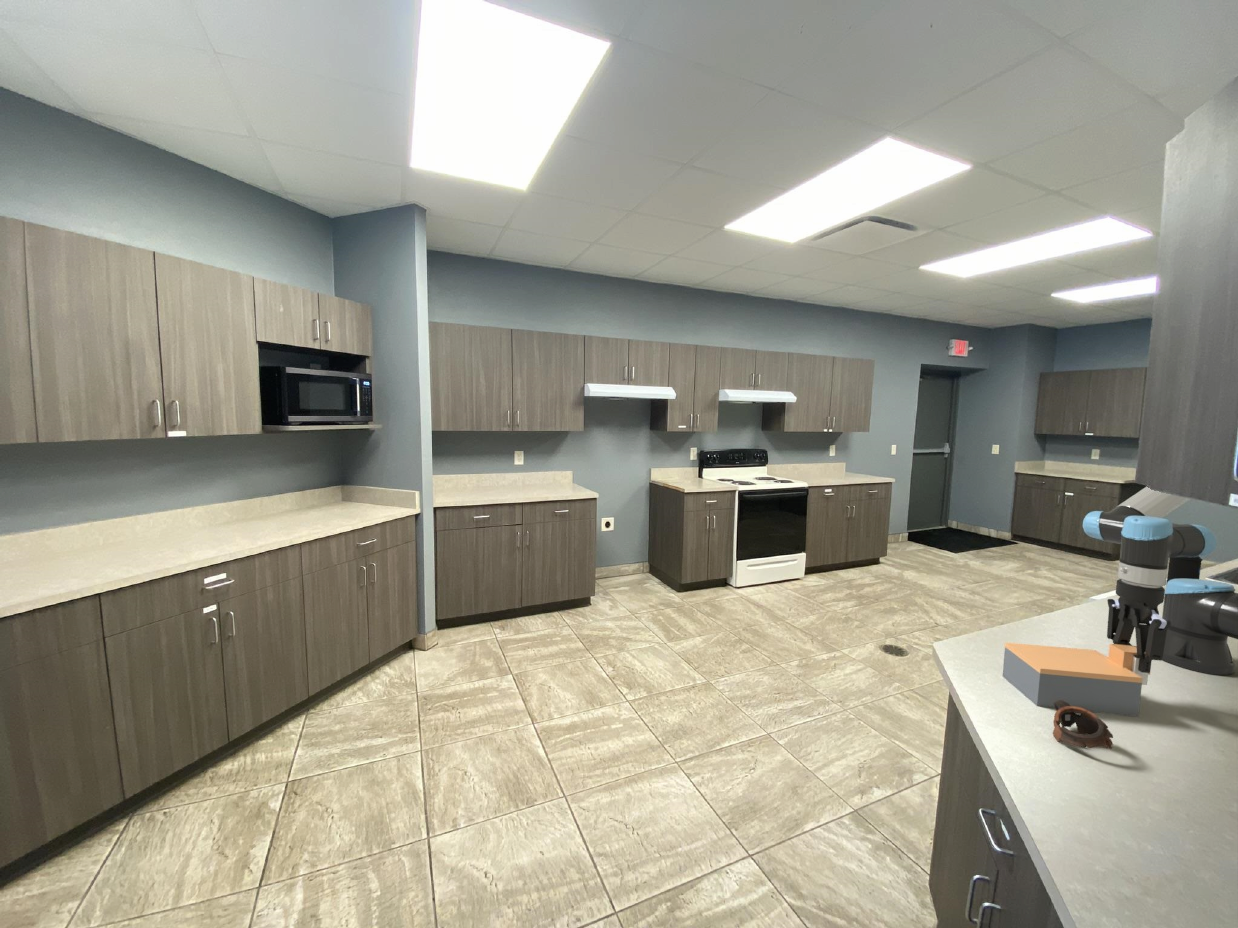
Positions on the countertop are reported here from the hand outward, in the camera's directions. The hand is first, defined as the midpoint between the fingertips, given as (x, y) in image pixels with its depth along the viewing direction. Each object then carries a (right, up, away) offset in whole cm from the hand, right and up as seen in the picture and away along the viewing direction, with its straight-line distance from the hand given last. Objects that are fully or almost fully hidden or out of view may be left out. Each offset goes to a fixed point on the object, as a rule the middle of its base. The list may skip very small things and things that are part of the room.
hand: (1129, 677), depth 111 cm
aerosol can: (+94, 0, +68) cm, 116 cm away
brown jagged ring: (-26, -7, -13) cm, 30 cm away
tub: (-13, -5, +3) cm, 14 cm away
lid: (-10, +2, +2) cm, 10 cm away
